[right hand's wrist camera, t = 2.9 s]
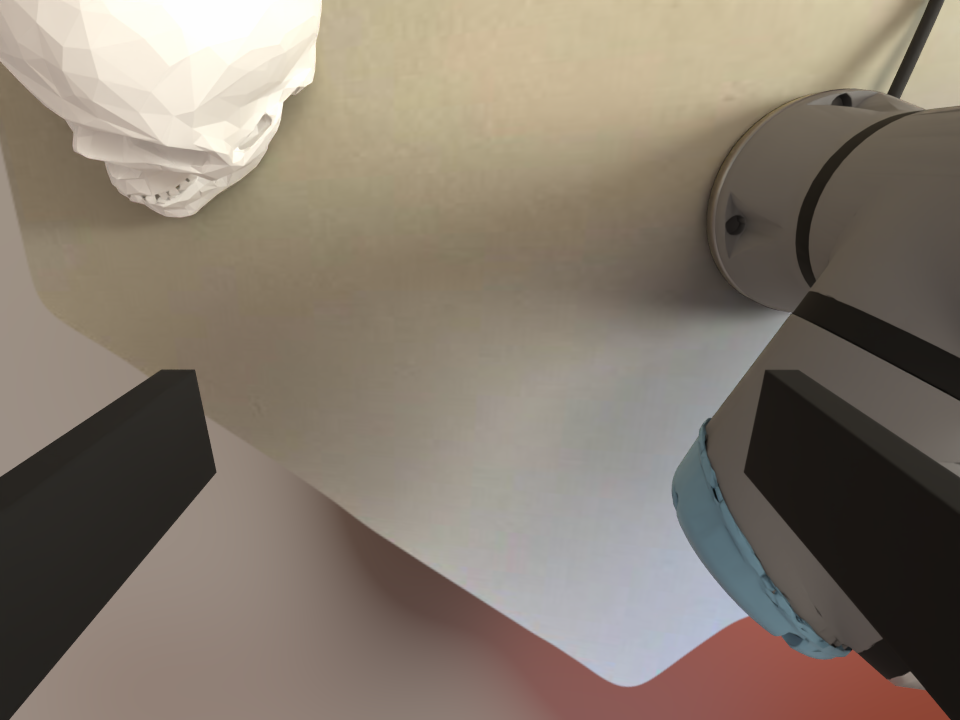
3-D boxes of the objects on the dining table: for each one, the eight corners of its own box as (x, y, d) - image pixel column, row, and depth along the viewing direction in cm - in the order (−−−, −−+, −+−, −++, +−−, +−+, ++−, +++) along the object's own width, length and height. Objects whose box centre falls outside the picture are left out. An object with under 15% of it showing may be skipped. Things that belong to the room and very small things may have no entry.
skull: (88, 174, 38) (-151, 190, 23) (163, -184, 31) (-113, -491, 16) (269, 255, 40) (157, 316, 26) (376, -59, 33) (308, -224, 18)
